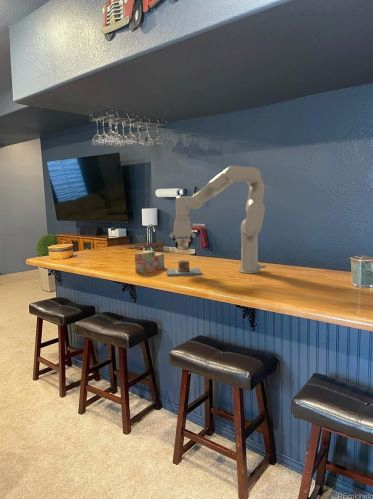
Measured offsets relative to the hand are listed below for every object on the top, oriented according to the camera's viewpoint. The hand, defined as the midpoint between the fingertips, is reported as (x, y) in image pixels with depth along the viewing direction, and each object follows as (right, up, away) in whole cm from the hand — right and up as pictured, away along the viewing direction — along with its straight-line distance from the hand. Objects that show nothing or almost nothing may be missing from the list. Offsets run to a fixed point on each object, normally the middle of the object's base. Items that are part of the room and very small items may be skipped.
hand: (182, 248), depth 220 cm
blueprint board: (+1, -15, +2) cm, 15 cm away
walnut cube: (+1, -14, +2) cm, 14 cm away
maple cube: (0, -1, 0) cm, 1 cm away
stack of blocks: (-20, -14, +14) cm, 29 cm away
